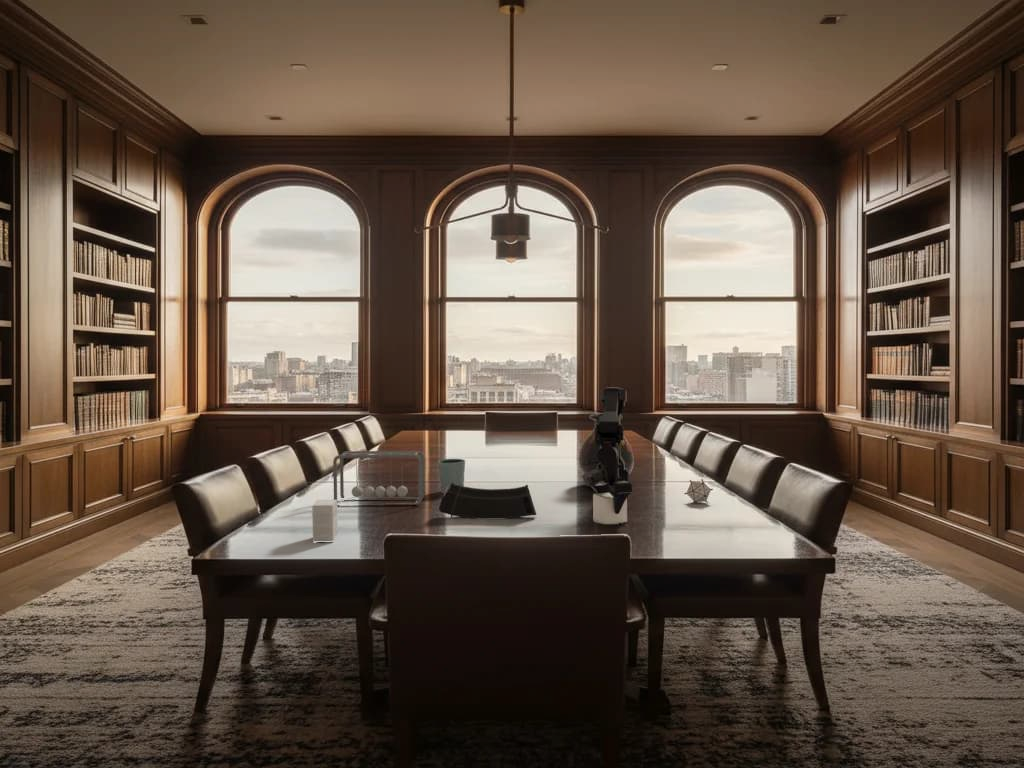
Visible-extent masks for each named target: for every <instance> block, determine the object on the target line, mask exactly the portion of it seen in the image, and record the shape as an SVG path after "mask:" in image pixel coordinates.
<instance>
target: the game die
mask: <svg viewBox="0 0 1024 768" xmlns="http://www.w3.org/2000/svg"><path fill="white" fill-rule="evenodd" d="M713 490H714V488H710V486H708V485H707V484H706V483H705V481H704V479H703V478H701V480H697V481H696V480H695V481H692V480H691V479H689V486H688V488H687V491H686V492H684V493H683V494H684V495H687V496H688V497H690V499H691V500H692V501H693V502H694V503H693V504H694V505H696V503H702V502H703V503H704V502H705V503H706V502H707V503H706V504H708V503H709V502H708V501H707V500H708V498H709V496H710V494H711V491H713Z"/></svg>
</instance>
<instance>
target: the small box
mask: <svg viewBox="0 0 1024 768" xmlns="http://www.w3.org/2000/svg"><path fill="white" fill-rule="evenodd" d="M337 501H338V499H337V500H334V499H317V500H316V501H315V502H314V504H313V505H312V506H311V508H312V509H311V510H312V512H311V513H312V542H313V541H332V540H334V538H335V536H336V535H337V536H338V506H337ZM337 536H336V537H337ZM335 539H336V538H335ZM334 541H335V540H334Z"/></svg>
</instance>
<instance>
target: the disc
mask: <svg viewBox="0 0 1024 768" xmlns="http://www.w3.org/2000/svg"><path fill="white" fill-rule="evenodd" d="M592 520H593V522H594V523H597V524H602V525H619V523H621V524H624V523H625V522H615V523H606V524H605V523H603V522H601V521H598V520H596V519H593V518H592Z"/></svg>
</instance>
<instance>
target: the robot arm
mask: <svg viewBox="0 0 1024 768" xmlns="http://www.w3.org/2000/svg"><path fill="white" fill-rule="evenodd" d="M627 392H628V391H627V390H626V389H624V388H621V387H618V386H610V387H609V386H607V387H604V388H603V389H600V401H601V403H603V405H602V406H603V409H604V410H603V413H602V414H603V415H602V416H600V418H599V423H597V427H596V443H601V445H600V449H599V451H598V453H597V458H598V460H599V462H600V463H597V468H596V469H594V470H591V471H589V472H587V473H585V474H583V473H582V475H581V476H582V479H583V483H584V485H585V486H587V485H588V486H590V487H589V488H591V487H592V490H594V491H595V494H599V493H610V494H611V495H612V496H613V501H614V510H615V514H619V512H620V510H621V508H622V506H623V504H624V502H625V500H626V498H627V499H628V497H629V495H631V494H632V493H633V491H634V485H633V483H631V482H630V474H629V472H628V471H627V468H625V462H624V460H623V459H622V457H621V455H620V443H621V440H623V436H624V433H625V432H624V430H625V427H624V426H623V424H622V423H621V419H620V415H621V413H622V411H623V410H624V408H625V405H626V404H625V403H627V401H628V400H627ZM598 437H599V440H598ZM624 437H625V436H624ZM588 486H587V487H588Z"/></svg>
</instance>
